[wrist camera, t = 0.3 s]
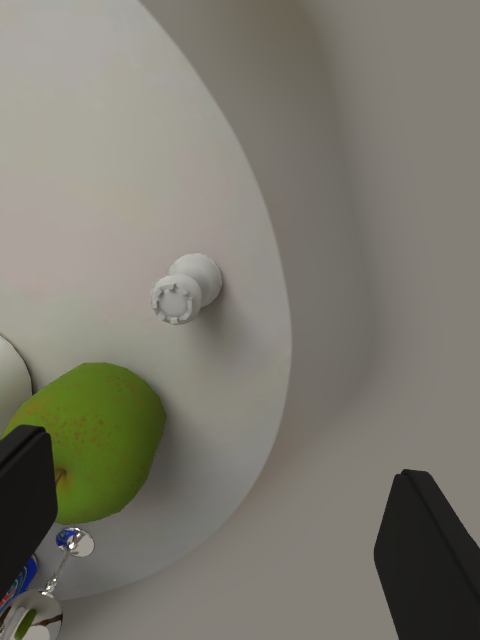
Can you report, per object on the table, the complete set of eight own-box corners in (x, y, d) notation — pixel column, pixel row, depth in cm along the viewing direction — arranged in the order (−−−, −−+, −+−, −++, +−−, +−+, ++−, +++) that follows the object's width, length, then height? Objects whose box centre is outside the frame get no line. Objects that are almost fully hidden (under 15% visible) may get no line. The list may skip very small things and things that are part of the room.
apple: (182, 368, 31) (142, 448, 21) (163, 461, 34) (120, 569, 24) (63, 338, 31) (-38, 404, 20) (55, 435, 34) (-34, 533, 24)
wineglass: (74, 515, 37) (-8, 649, 26) (110, 547, 39) (46, 689, 27) (40, 536, 39) (-53, 672, 27) (75, 567, 40) (1, 710, 28)
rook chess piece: (159, 273, 28) (120, 296, 21) (200, 240, 27) (176, 252, 20) (192, 314, 29) (167, 351, 22) (233, 285, 28) (223, 312, 21)
